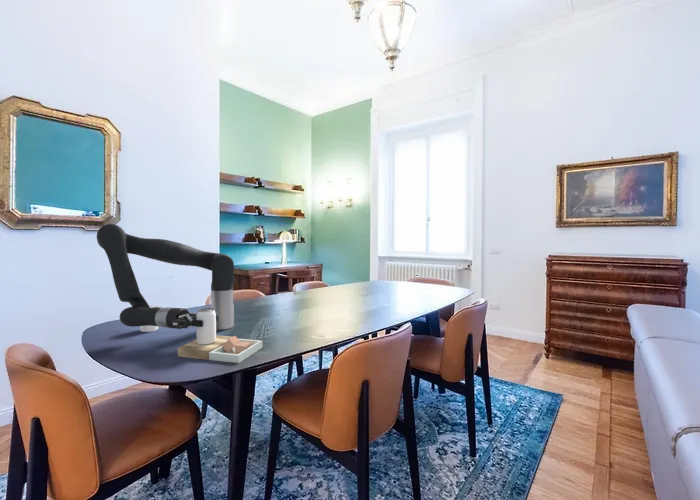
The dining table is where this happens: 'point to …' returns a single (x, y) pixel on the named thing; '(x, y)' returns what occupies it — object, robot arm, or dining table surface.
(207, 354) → the board
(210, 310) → the can
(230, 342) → the tile
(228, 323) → the robot arm
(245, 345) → the tile
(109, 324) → the dining table surface
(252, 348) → the tray
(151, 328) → the white cup
